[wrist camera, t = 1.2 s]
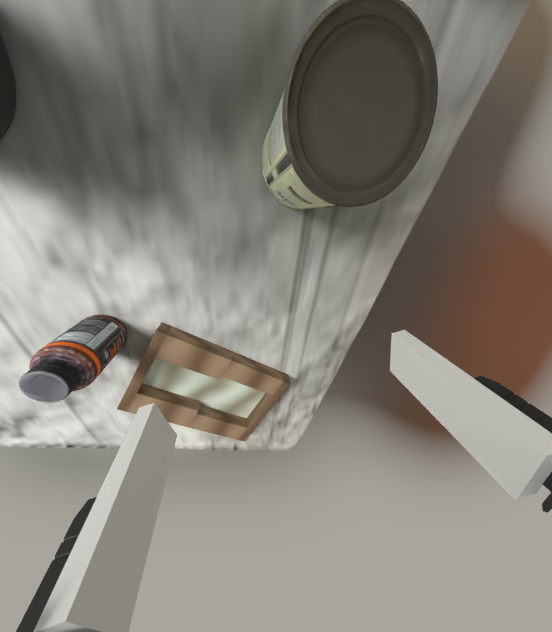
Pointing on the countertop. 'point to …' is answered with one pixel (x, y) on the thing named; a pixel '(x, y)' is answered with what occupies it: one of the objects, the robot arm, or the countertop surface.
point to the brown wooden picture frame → (203, 385)
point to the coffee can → (352, 107)
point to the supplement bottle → (73, 359)
